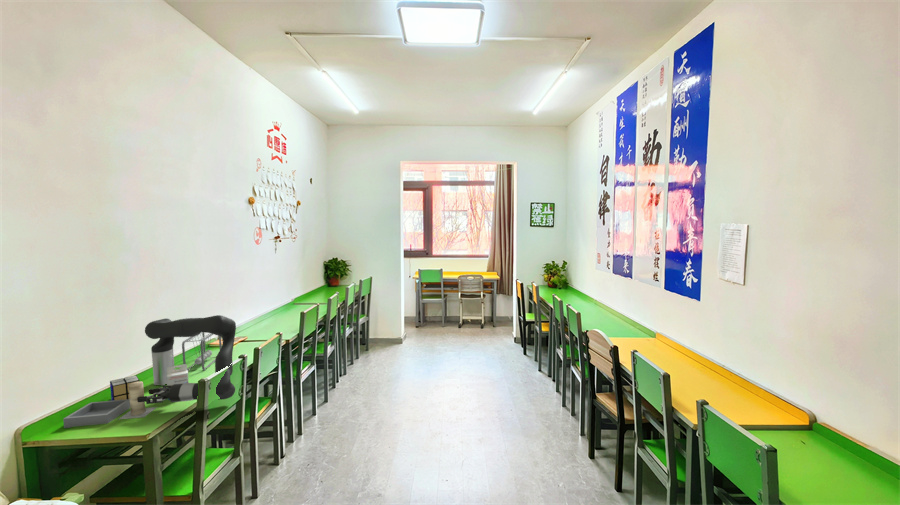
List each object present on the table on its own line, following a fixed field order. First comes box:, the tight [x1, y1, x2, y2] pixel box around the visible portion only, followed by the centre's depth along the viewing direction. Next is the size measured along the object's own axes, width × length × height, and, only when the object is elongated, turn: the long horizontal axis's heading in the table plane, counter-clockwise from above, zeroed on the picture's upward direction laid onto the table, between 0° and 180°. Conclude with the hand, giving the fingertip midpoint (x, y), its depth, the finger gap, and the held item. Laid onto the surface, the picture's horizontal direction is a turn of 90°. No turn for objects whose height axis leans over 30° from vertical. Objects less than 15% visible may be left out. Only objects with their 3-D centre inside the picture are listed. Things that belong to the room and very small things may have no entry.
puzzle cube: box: [109, 375, 140, 401], centre depth 194 cm, size 10×10×10 cm
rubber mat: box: [117, 406, 158, 420], centre depth 179 cm, size 10×10×1 cm
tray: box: [62, 399, 130, 429], centre depth 177 cm, size 16×16×4 cm
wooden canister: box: [129, 380, 146, 416], centre depth 179 cm, size 5×5×13 cm
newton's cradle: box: [181, 332, 222, 372], centre depth 246 cm, size 30×10×18 cm, turn 11°
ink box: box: [166, 363, 190, 401], centre depth 196 cm, size 8×5×15 cm, turn 123°
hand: (143, 395), depth 179 cm, fingers open, 8 cm apart
